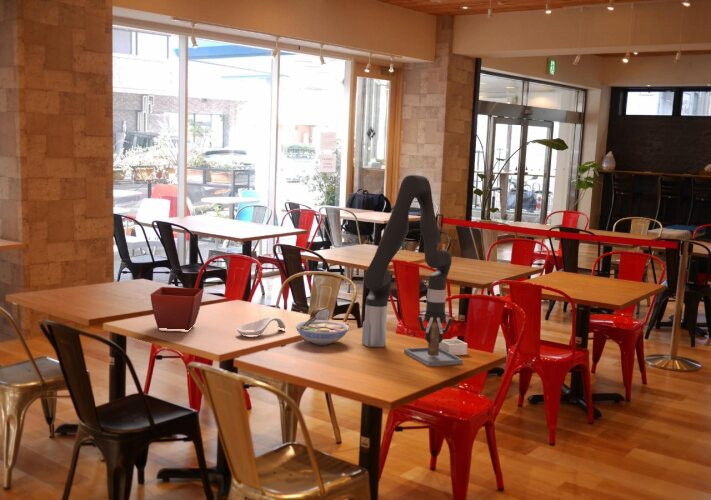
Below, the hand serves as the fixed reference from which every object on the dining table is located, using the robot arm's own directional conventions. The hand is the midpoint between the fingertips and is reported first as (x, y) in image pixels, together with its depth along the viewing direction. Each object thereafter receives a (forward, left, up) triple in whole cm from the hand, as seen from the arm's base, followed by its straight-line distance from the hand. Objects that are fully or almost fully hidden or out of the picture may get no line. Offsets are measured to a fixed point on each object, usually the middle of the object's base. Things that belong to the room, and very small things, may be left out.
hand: (433, 341), depth 321 cm
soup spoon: (-24, +66, -7) cm, 71 cm away
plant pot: (-89, +71, -7) cm, 114 cm away
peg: (0, 0, -5) cm, 5 cm away
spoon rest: (-55, +54, -7) cm, 78 cm away
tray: (0, 0, -7) cm, 7 cm away
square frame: (+13, +7, -7) cm, 16 cm away
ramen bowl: (-35, +34, -7) cm, 49 cm away
